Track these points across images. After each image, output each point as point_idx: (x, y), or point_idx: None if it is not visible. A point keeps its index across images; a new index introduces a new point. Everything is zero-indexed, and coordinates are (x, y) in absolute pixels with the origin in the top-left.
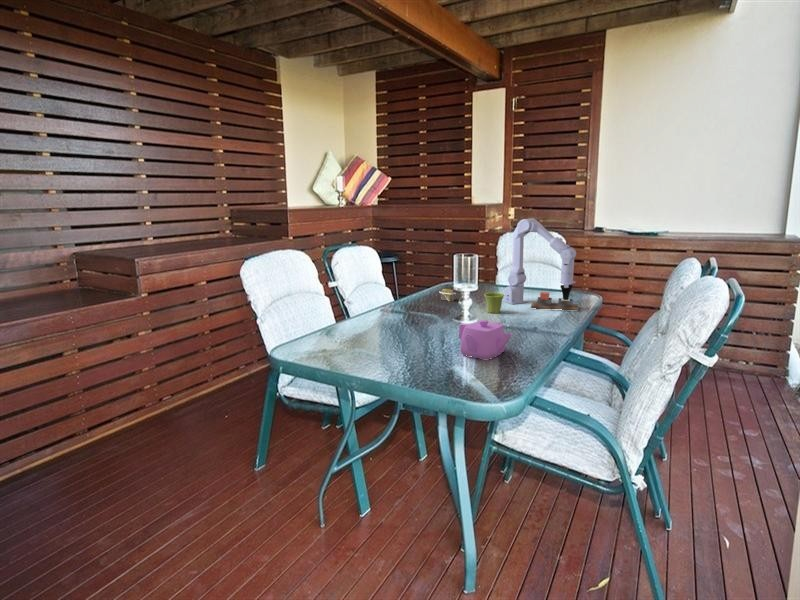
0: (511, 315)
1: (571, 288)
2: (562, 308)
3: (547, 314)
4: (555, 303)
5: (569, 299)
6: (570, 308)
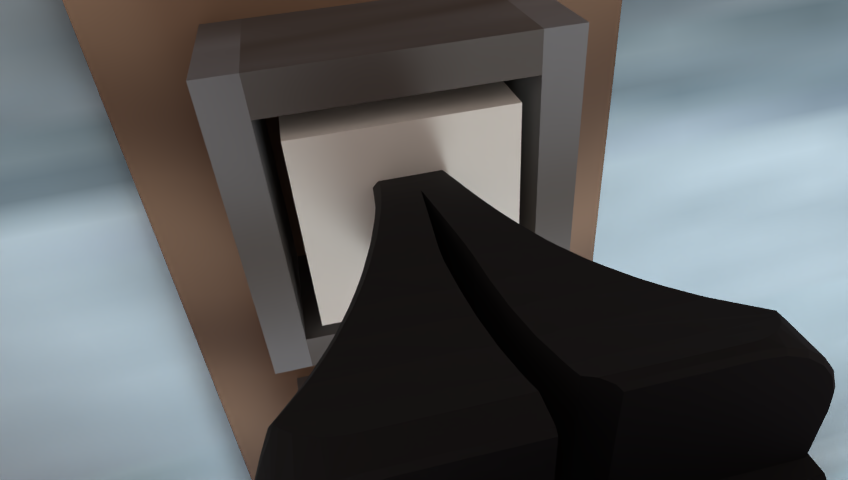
0: (842, 471)
1: (782, 320)
2: (599, 149)
3: (812, 252)
4: (256, 334)
5: (358, 144)
6: (619, 3)
